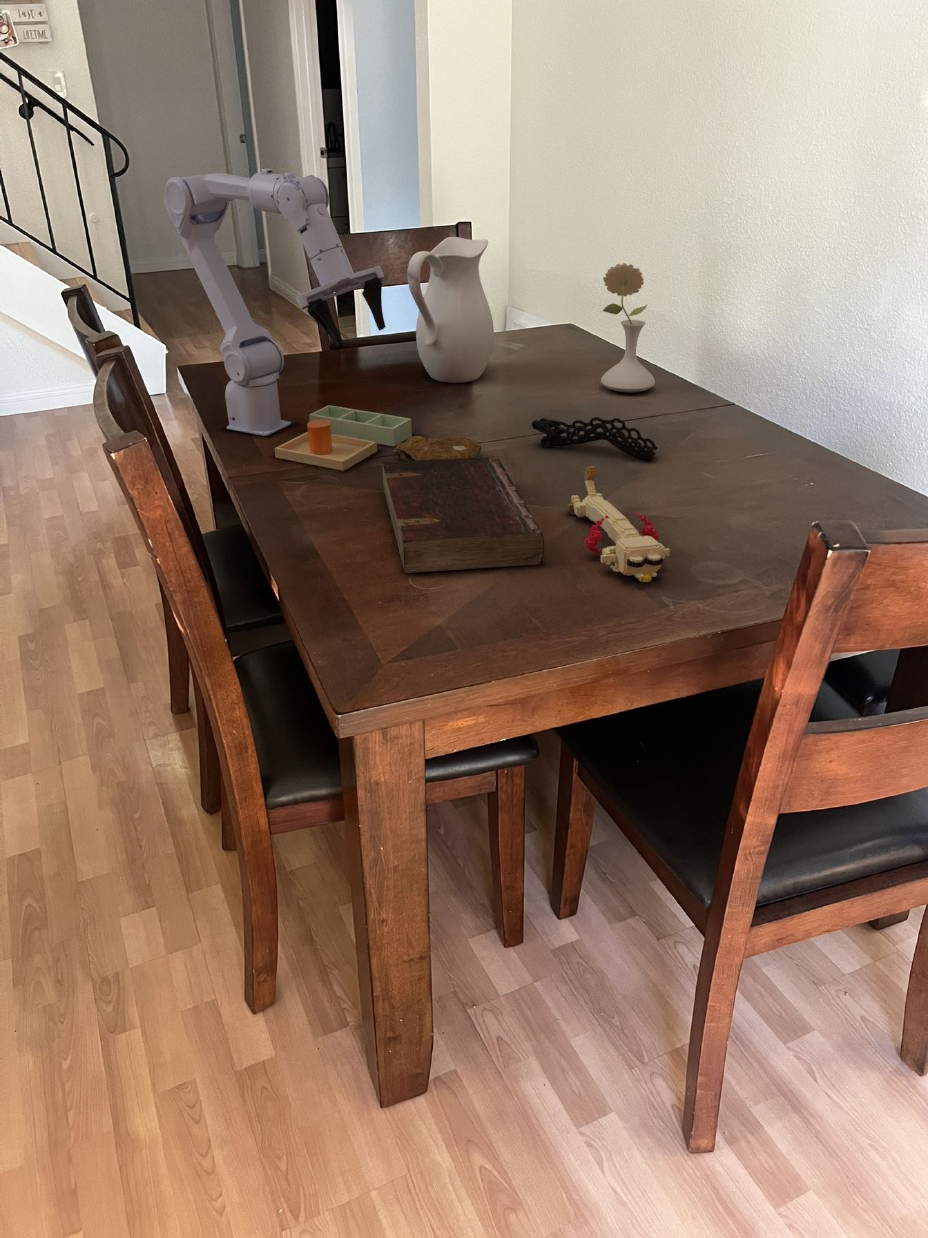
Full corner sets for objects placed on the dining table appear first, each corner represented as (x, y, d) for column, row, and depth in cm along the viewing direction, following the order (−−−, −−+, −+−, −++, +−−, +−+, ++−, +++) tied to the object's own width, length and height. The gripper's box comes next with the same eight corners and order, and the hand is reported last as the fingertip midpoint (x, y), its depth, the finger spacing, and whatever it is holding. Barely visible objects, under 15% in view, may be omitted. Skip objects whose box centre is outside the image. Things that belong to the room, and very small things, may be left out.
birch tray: (275, 457, 156) (274, 448, 155) (311, 438, 164) (310, 429, 163) (343, 470, 150) (343, 461, 150) (377, 450, 159) (376, 441, 158)
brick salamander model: (553, 521, 135) (611, 587, 113) (554, 465, 132) (615, 522, 109) (615, 516, 137) (684, 579, 115) (619, 460, 133) (691, 515, 111)
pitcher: (447, 362, 210) (446, 233, 195) (508, 373, 201) (510, 240, 187) (381, 386, 193) (374, 247, 179) (444, 399, 184) (442, 255, 170)
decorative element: (658, 455, 156) (661, 422, 153) (650, 464, 152) (654, 431, 149) (537, 438, 164) (538, 406, 161) (527, 446, 160) (528, 414, 157)
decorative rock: (392, 477, 149) (482, 479, 149) (391, 454, 147) (483, 456, 147) (395, 449, 158) (480, 451, 159) (395, 427, 156) (481, 429, 157)
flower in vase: (662, 386, 192) (676, 262, 179) (641, 400, 184) (654, 271, 171) (606, 377, 198) (616, 257, 185) (584, 390, 190) (592, 265, 177)
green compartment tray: (310, 431, 168) (308, 414, 166) (329, 421, 173) (328, 404, 171) (394, 446, 161) (393, 428, 159) (411, 435, 165) (411, 418, 164)
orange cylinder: (305, 452, 157) (302, 424, 154) (318, 445, 160) (315, 418, 157) (324, 456, 155) (321, 428, 152) (337, 449, 158) (334, 421, 156)
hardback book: (543, 564, 121) (544, 530, 118) (404, 575, 118) (403, 541, 116) (499, 483, 145) (499, 454, 143) (383, 491, 143) (382, 461, 140)
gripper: (288, 262, 137) (325, 348, 140) (372, 232, 141) (407, 315, 144) (282, 274, 144) (318, 356, 147) (363, 245, 148) (396, 325, 151)
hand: (361, 336), depth 146 cm, fingers open, 7 cm apart
